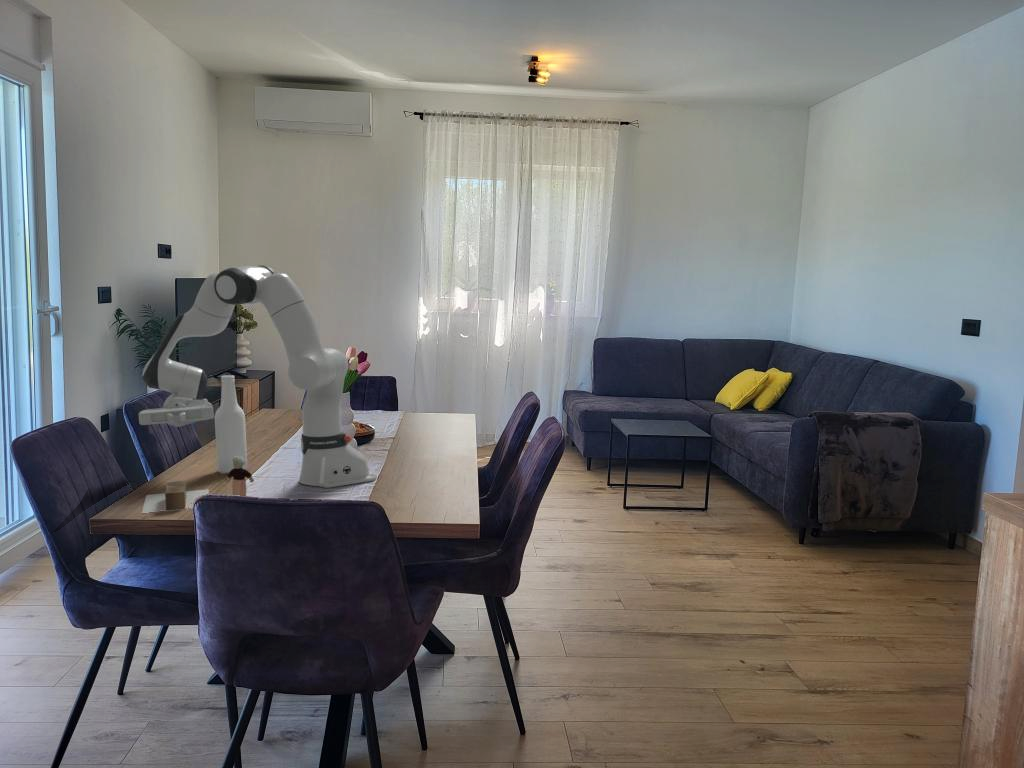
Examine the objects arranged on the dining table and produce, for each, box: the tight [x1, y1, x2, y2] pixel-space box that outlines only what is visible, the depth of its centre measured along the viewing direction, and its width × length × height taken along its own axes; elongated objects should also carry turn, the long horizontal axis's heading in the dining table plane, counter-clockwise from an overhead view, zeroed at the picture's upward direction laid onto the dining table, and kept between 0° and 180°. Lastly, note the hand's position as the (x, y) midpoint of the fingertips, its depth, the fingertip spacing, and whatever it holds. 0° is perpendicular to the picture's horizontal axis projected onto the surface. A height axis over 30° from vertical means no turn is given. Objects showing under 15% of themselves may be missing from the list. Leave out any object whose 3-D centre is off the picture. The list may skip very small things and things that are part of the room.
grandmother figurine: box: [225, 456, 255, 497], centre depth 208 cm, size 8×4×13 cm, turn 95°
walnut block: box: [164, 479, 187, 512], centre depth 205 cm, size 4×4×12 cm
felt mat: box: [141, 488, 210, 514], centre depth 207 cm, size 16×18×1 cm
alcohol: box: [214, 374, 248, 475], centre depth 238 cm, size 9×9×30 cm
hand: (176, 418), depth 220 cm, fingers closed
